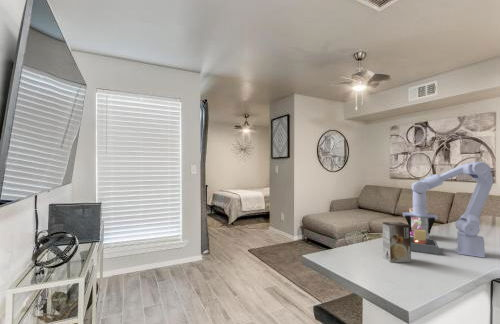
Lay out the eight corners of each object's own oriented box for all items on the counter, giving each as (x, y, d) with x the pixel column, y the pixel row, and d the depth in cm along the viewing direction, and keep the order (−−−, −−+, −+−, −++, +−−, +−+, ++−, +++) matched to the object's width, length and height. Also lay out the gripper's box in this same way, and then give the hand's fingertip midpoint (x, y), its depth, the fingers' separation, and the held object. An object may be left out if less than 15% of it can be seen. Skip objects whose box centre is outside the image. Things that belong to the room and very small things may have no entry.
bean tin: (426, 247, 126) (426, 238, 126) (426, 250, 121) (426, 240, 121) (413, 245, 129) (413, 236, 129) (413, 248, 124) (413, 239, 124)
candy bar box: (408, 234, 152) (408, 207, 153) (417, 234, 152) (416, 207, 153) (421, 239, 141) (420, 211, 142) (430, 239, 141) (429, 211, 142)
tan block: (424, 238, 126) (424, 229, 126) (425, 240, 122) (425, 231, 122) (414, 237, 128) (414, 228, 128) (414, 239, 124) (414, 230, 124)
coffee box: (402, 257, 113) (402, 221, 113) (411, 262, 106) (411, 225, 107) (382, 257, 113) (381, 221, 113) (390, 262, 107) (389, 225, 107)
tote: (435, 247, 127) (435, 239, 127) (438, 255, 116) (438, 246, 116) (404, 243, 134) (403, 235, 134) (404, 250, 123) (404, 242, 123)
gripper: (402, 205, 127) (403, 231, 126) (438, 207, 119) (438, 235, 119) (402, 203, 133) (402, 229, 132) (436, 205, 125) (436, 232, 125)
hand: (419, 232), depth 126 cm, fingers open, 7 cm apart
